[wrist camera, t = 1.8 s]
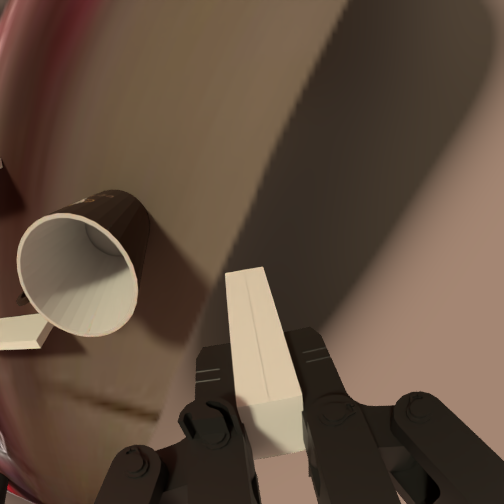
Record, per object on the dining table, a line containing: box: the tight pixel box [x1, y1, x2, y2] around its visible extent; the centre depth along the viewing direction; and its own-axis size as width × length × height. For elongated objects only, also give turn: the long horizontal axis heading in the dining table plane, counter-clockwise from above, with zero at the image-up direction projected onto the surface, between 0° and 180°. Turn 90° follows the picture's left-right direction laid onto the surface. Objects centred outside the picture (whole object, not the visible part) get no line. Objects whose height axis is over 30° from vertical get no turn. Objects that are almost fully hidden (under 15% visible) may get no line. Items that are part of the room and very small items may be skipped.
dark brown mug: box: [16, 190, 150, 337], centre depth 22 cm, size 12×9×10 cm
